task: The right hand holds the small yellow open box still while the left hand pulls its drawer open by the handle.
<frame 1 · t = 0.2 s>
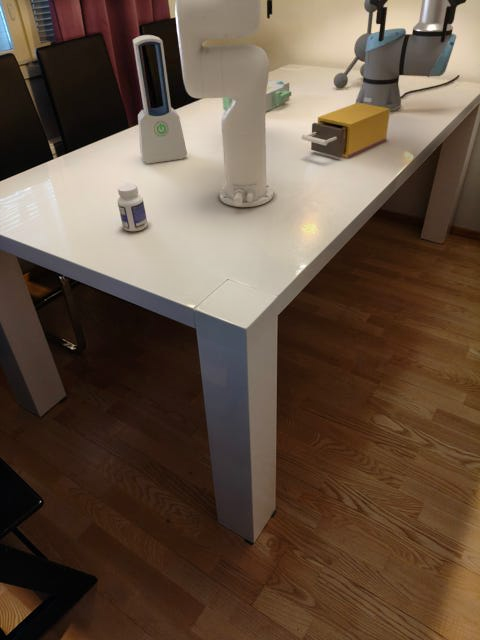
left hand: (250, 18, 131), 31 cm above the table, tool pointing down, fingers open, 9 cm apart
right hand: (411, 41, 112), 28 cm above the table, tool pointing down, fingers open, 13 cm apart
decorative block: (257, 106, 177), on the table
pill bottle: (135, 227, 105), on the table
yellow open box: (351, 145, 140), on the table
electronic device: (164, 157, 139), on the table
molecular model: (358, 86, 194), on the table
drawer: (339, 135, 134), point 4 cm above the table, slide at 1.9 cm
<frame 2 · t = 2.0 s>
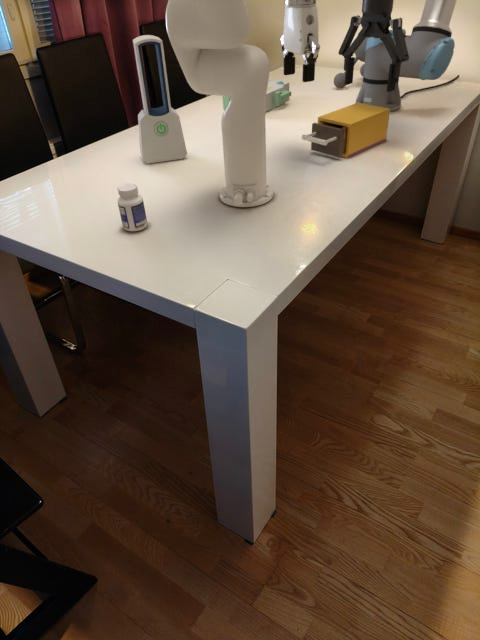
left hand: (298, 77, 126), 19 cm above the table, tool pointing down, fingers open, 9 cm apart
right hand: (368, 87, 133), 14 cm above the table, tool pointing down, fingers open, 13 cm apart
nothing on the table moved.
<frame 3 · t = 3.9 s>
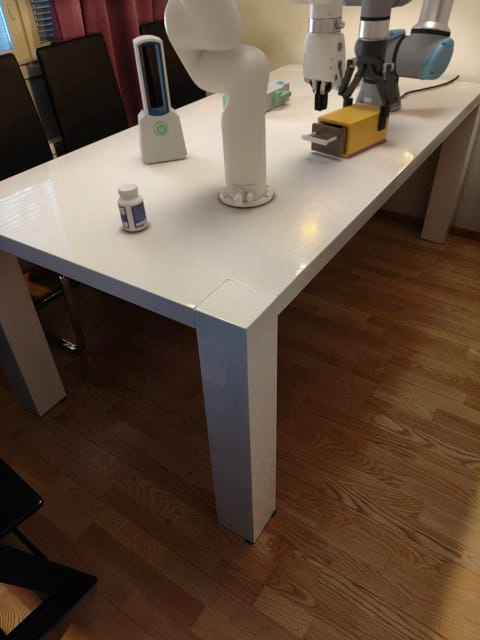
left hand: (320, 109, 124), 13 cm above the table, tool pointing down, fingers closed
right hand: (363, 125, 140), 4 cm above the table, tool pointing down, fingers closed on yellow open box, 11 cm apart
yellow open box: (351, 145, 140), on the table, touching right hand
everything else where it was.
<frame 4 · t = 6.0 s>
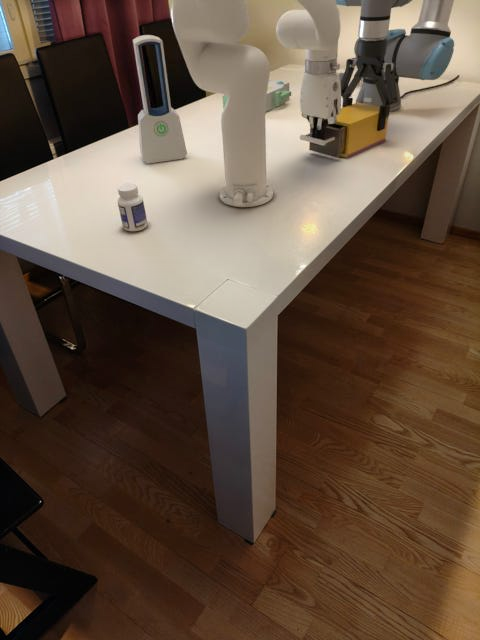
left hand: (317, 143, 129), 5 cm above the table, tool pointing down, fingers closed
right hand: (363, 125, 140), 4 cm above the table, tool pointing down, fingers closed on yellow open box, 11 cm apart
yellow open box: (350, 145, 140), on the table, touching right hand
drawer: (337, 135, 133), point 5 cm above the table, slide at 2.4 cm, touching left hand
everything else where it was.
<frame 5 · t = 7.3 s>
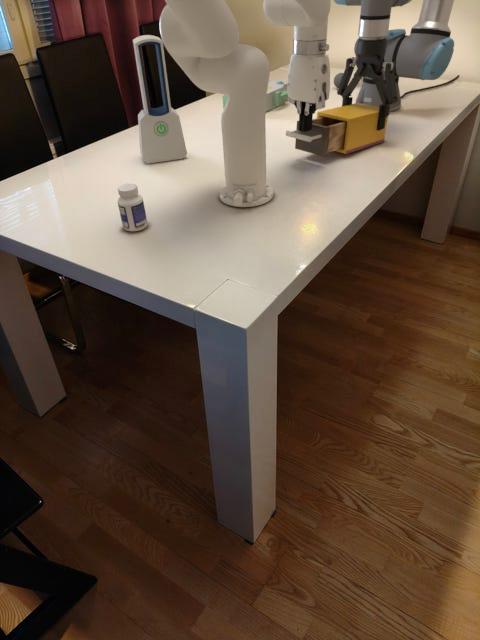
left hand: (305, 130, 123), 9 cm above the table, tool pointing down, fingers closed
right hand: (363, 125, 140), 4 cm above the table, tool pointing down, fingers closed on yellow open box, 11 cm apart
yellow open box: (349, 143, 139), point 1 cm above the table, touching right hand
drawer: (324, 134, 129), point 6 cm above the table, slide at 7.8 cm
everything else where it was.
when the right hand's fingers open (4 cm above the table, at t = 8.5 s): yellow open box stays where it is, on the table.
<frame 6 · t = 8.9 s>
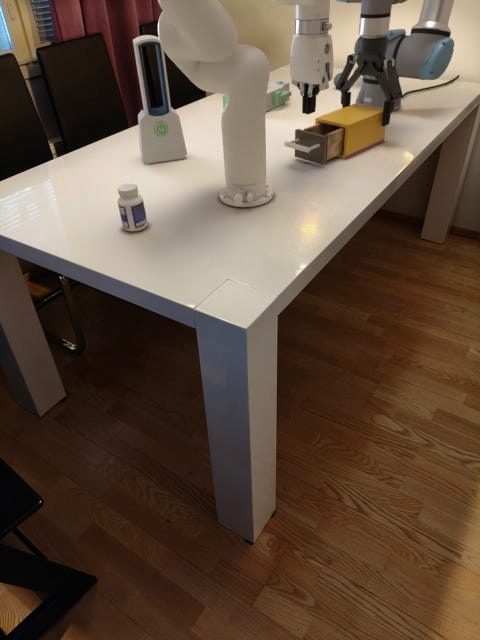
left hand: (308, 112, 121), 13 cm above the table, tool pointing down, fingers closed
right hand: (364, 120, 139), 5 cm above the table, tool pointing down, fingers open, 13 cm apart
yellow open box: (349, 146, 139), on the table
drawer: (323, 141, 130), point 4 cm above the table, slide at 7.7 cm
everything else where it was.
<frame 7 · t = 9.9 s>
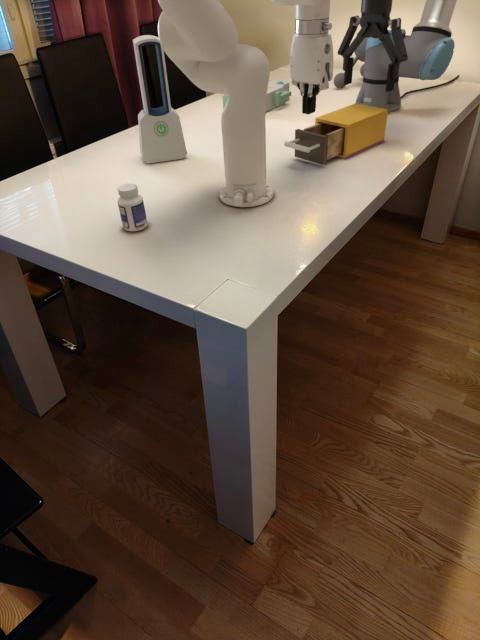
left hand: (308, 112, 121), 13 cm above the table, tool pointing down, fingers closed
right hand: (367, 87, 134), 14 cm above the table, tool pointing down, fingers open, 13 cm apart
nothing on the table moved.
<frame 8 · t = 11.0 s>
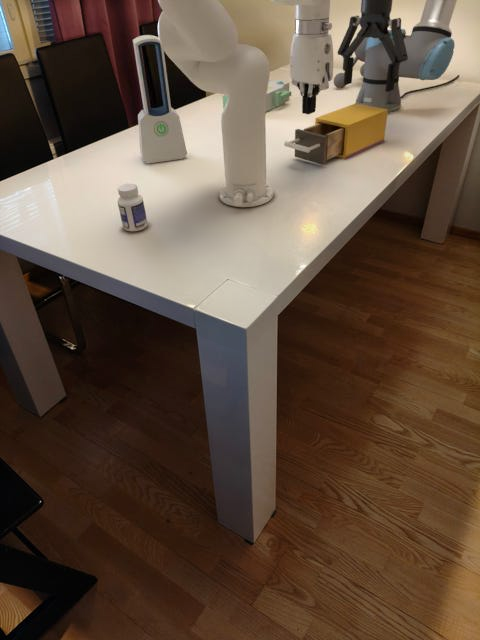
left hand: (308, 112, 121), 13 cm above the table, tool pointing down, fingers closed
right hand: (367, 87, 134), 14 cm above the table, tool pointing down, fingers open, 13 cm apart
nothing on the table moved.
at the end: drawer slide at 7.7 cm; yellow open box tilted 0°; yellow open box never tilted more than 5° during the clip; yellow open box moved 1.0 cm from its start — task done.
